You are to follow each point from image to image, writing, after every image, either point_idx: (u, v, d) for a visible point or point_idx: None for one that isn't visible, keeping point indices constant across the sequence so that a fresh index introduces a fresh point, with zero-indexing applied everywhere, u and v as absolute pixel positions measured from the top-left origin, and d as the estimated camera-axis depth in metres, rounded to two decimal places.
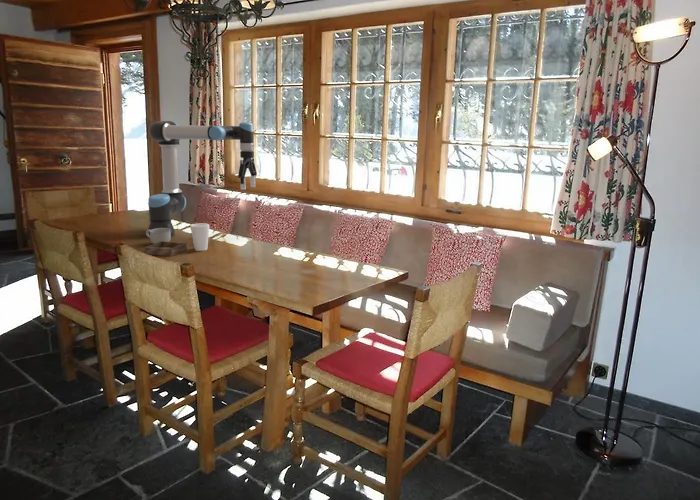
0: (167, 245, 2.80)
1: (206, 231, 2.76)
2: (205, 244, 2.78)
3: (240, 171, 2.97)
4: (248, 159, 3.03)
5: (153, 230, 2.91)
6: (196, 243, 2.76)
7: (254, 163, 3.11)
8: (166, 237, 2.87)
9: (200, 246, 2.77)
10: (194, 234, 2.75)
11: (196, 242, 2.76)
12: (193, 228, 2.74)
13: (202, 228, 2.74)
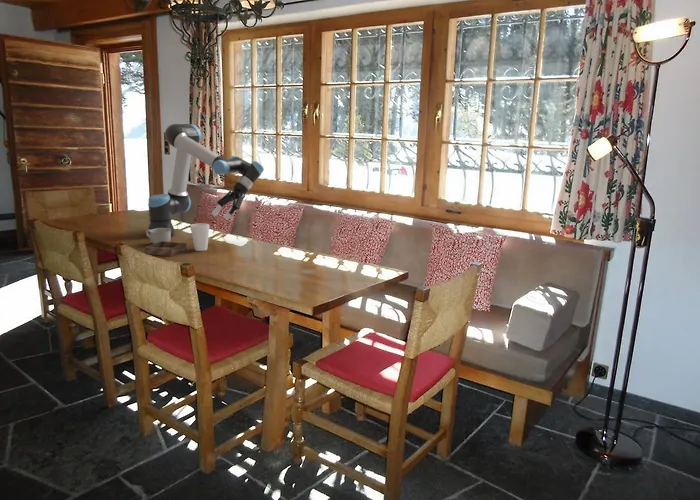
0: (167, 245, 2.80)
1: (206, 231, 2.76)
2: (205, 244, 2.78)
3: (239, 203, 2.80)
4: None
5: (153, 230, 2.91)
6: (196, 243, 2.76)
7: None
8: (166, 237, 2.87)
9: (200, 246, 2.77)
10: (194, 234, 2.75)
11: (196, 242, 2.76)
12: (193, 228, 2.74)
13: (202, 228, 2.74)
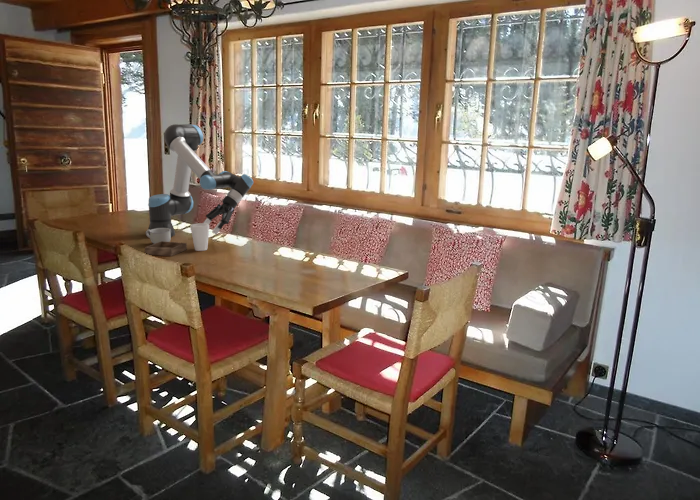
0: (167, 245, 2.80)
1: (206, 231, 2.76)
2: (205, 244, 2.78)
3: (228, 217, 2.76)
4: None
5: (153, 230, 2.91)
6: (196, 243, 2.76)
7: None
8: (166, 237, 2.87)
9: (200, 246, 2.77)
10: (194, 234, 2.75)
11: (196, 242, 2.76)
12: (193, 228, 2.74)
13: (202, 228, 2.74)
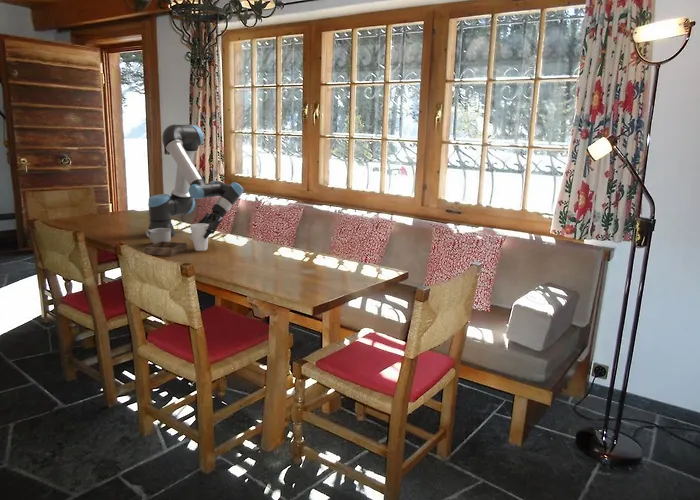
0: (167, 245, 2.80)
1: (206, 231, 2.76)
2: (205, 244, 2.78)
3: (214, 227, 2.74)
4: None
5: (153, 230, 2.91)
6: (196, 243, 2.76)
7: None
8: (166, 237, 2.87)
9: (200, 246, 2.77)
10: (194, 234, 2.75)
11: (196, 242, 2.76)
12: (193, 228, 2.74)
13: (202, 228, 2.74)
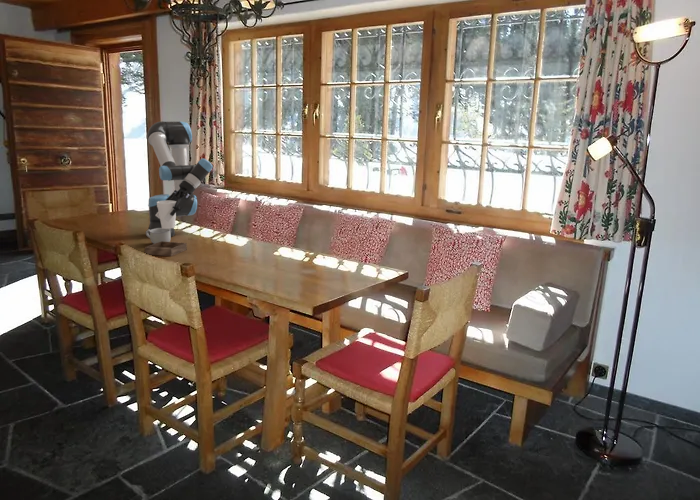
0: (167, 245, 2.80)
1: (173, 208, 2.67)
2: (172, 222, 2.69)
3: (181, 204, 2.66)
4: None
5: (153, 230, 2.91)
6: (163, 221, 2.67)
7: (174, 197, 2.78)
8: (166, 237, 2.87)
9: (167, 224, 2.68)
10: (160, 211, 2.66)
11: (163, 219, 2.67)
12: (159, 205, 2.65)
13: (169, 205, 2.65)
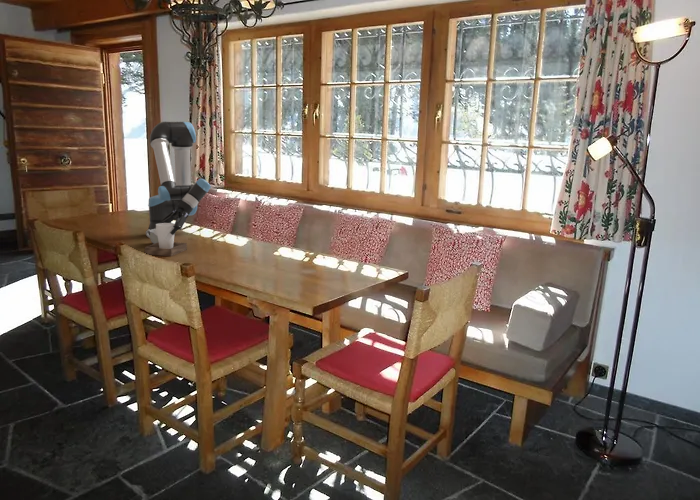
0: None
1: None
2: (170, 244, 2.71)
3: (181, 223, 2.67)
4: None
5: (153, 230, 2.91)
6: (161, 243, 2.70)
7: None
8: None
9: (165, 246, 2.70)
10: (159, 233, 2.68)
11: (161, 242, 2.69)
12: (158, 227, 2.67)
13: (167, 227, 2.67)
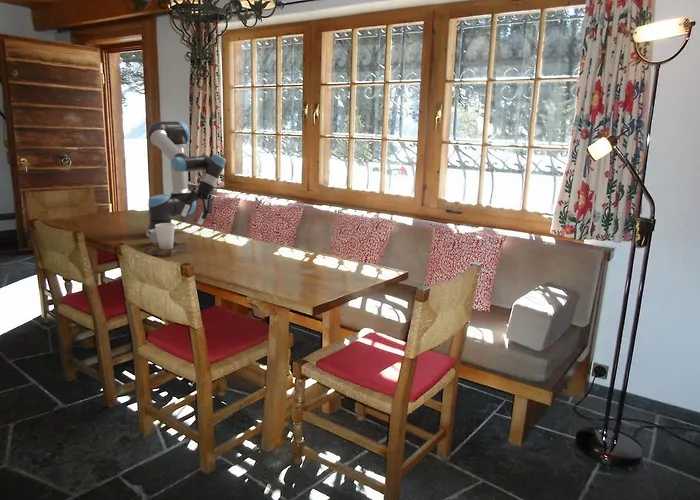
0: None
1: (171, 231, 2.69)
2: (170, 244, 2.71)
3: (210, 207, 2.77)
4: None
5: (153, 230, 2.91)
6: (161, 243, 2.70)
7: None
8: None
9: (165, 247, 2.70)
10: (158, 234, 2.68)
11: (161, 242, 2.69)
12: (157, 228, 2.67)
13: (167, 228, 2.67)
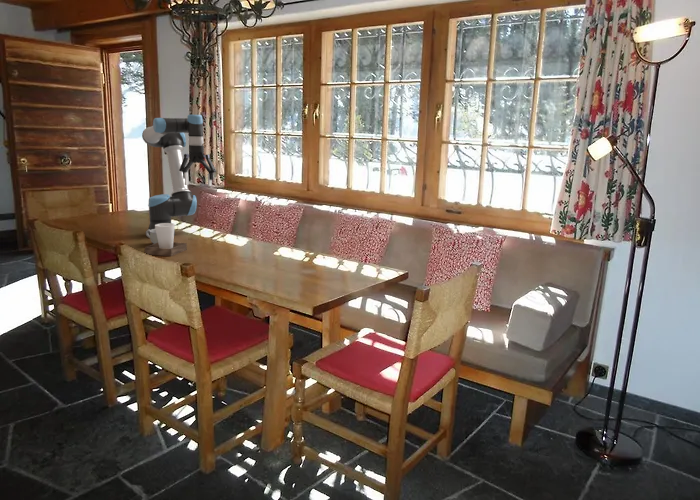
0: None
1: (171, 231, 2.69)
2: (170, 244, 2.71)
3: (212, 166, 2.82)
4: None
5: (153, 230, 2.91)
6: (161, 243, 2.70)
7: None
8: None
9: (165, 247, 2.70)
10: (158, 234, 2.68)
11: (161, 242, 2.69)
12: (157, 228, 2.67)
13: (166, 228, 2.67)
